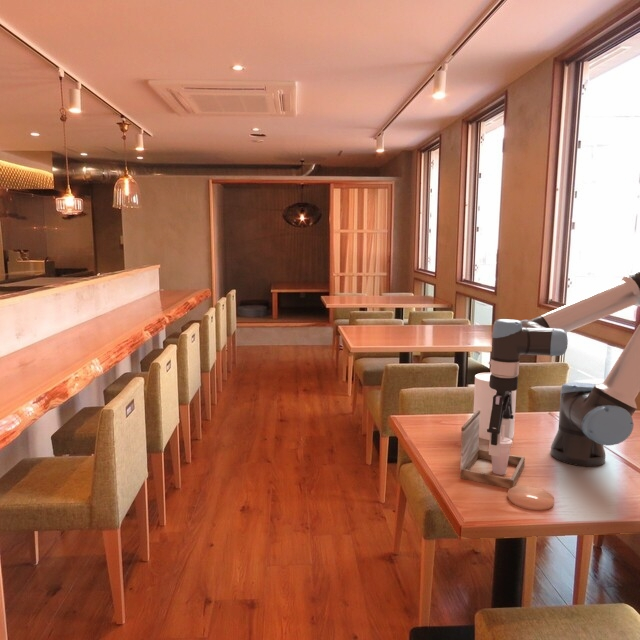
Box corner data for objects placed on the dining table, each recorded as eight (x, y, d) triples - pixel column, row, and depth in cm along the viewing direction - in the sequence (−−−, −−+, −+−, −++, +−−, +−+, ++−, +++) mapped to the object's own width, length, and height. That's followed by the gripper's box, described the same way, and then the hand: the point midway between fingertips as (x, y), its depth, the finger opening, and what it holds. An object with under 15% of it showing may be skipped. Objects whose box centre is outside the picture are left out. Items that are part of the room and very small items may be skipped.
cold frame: (524, 465, 159) (527, 417, 157) (512, 489, 143) (515, 436, 141) (471, 454, 167) (473, 409, 164) (454, 476, 151) (456, 426, 149)
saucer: (556, 496, 139) (556, 491, 139) (550, 514, 130) (551, 509, 130) (512, 486, 145) (512, 482, 145) (503, 503, 135) (504, 499, 135)
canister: (508, 443, 176) (511, 384, 173) (467, 436, 183) (470, 378, 180) (517, 431, 187) (520, 375, 185) (478, 424, 194) (481, 370, 192)
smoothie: (512, 477, 150) (515, 429, 148) (488, 475, 152) (490, 428, 150) (509, 468, 157) (511, 422, 155) (486, 466, 158) (488, 420, 156)
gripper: (499, 364, 163) (495, 432, 166) (479, 382, 141) (474, 459, 144) (525, 368, 159) (520, 436, 162) (509, 386, 137) (503, 465, 140)
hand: (499, 447), depth 153 cm, fingers open, 13 cm apart
